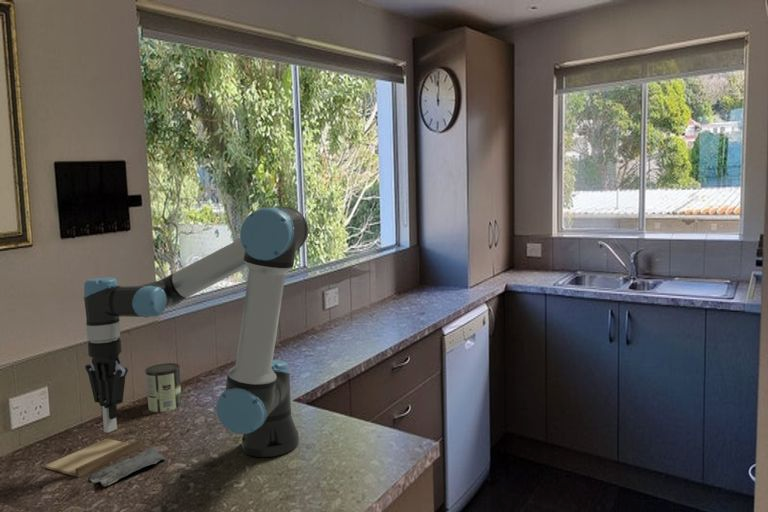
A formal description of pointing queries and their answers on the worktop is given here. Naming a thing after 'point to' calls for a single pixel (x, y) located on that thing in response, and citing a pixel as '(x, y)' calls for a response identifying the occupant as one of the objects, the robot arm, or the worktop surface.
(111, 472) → the stone slab
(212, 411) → the worktop surface
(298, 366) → the worktop surface
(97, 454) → the board
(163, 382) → the coffee can
